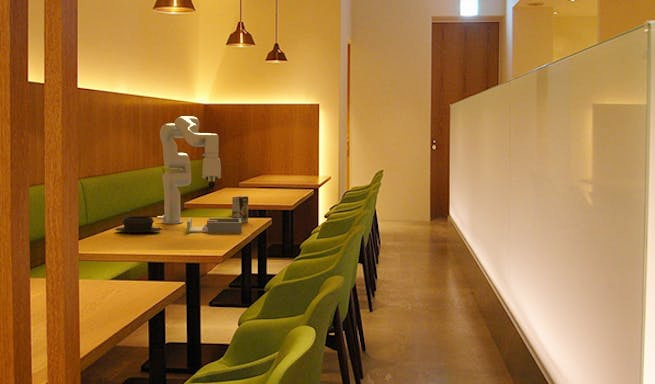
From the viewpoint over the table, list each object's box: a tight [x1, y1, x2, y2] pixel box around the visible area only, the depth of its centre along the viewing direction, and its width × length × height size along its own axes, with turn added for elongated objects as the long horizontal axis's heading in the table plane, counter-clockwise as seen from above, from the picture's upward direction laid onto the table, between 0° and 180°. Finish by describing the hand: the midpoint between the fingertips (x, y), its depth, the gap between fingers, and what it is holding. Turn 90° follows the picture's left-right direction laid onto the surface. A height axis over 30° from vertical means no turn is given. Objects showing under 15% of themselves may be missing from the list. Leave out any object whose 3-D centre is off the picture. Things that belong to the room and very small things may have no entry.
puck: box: [206, 219, 218, 227], centre depth 416 cm, size 6×6×4 cm
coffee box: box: [231, 195, 249, 224], centre depth 453 cm, size 9×6×16 cm
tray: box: [186, 216, 208, 234], centre depth 415 cm, size 19×20×6 cm
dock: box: [207, 217, 243, 234], centre depth 417 cm, size 18×20×6 cm
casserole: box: [114, 215, 162, 235], centre depth 405 cm, size 25×19×8 cm
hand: (211, 188), depth 414 cm, fingers closed
